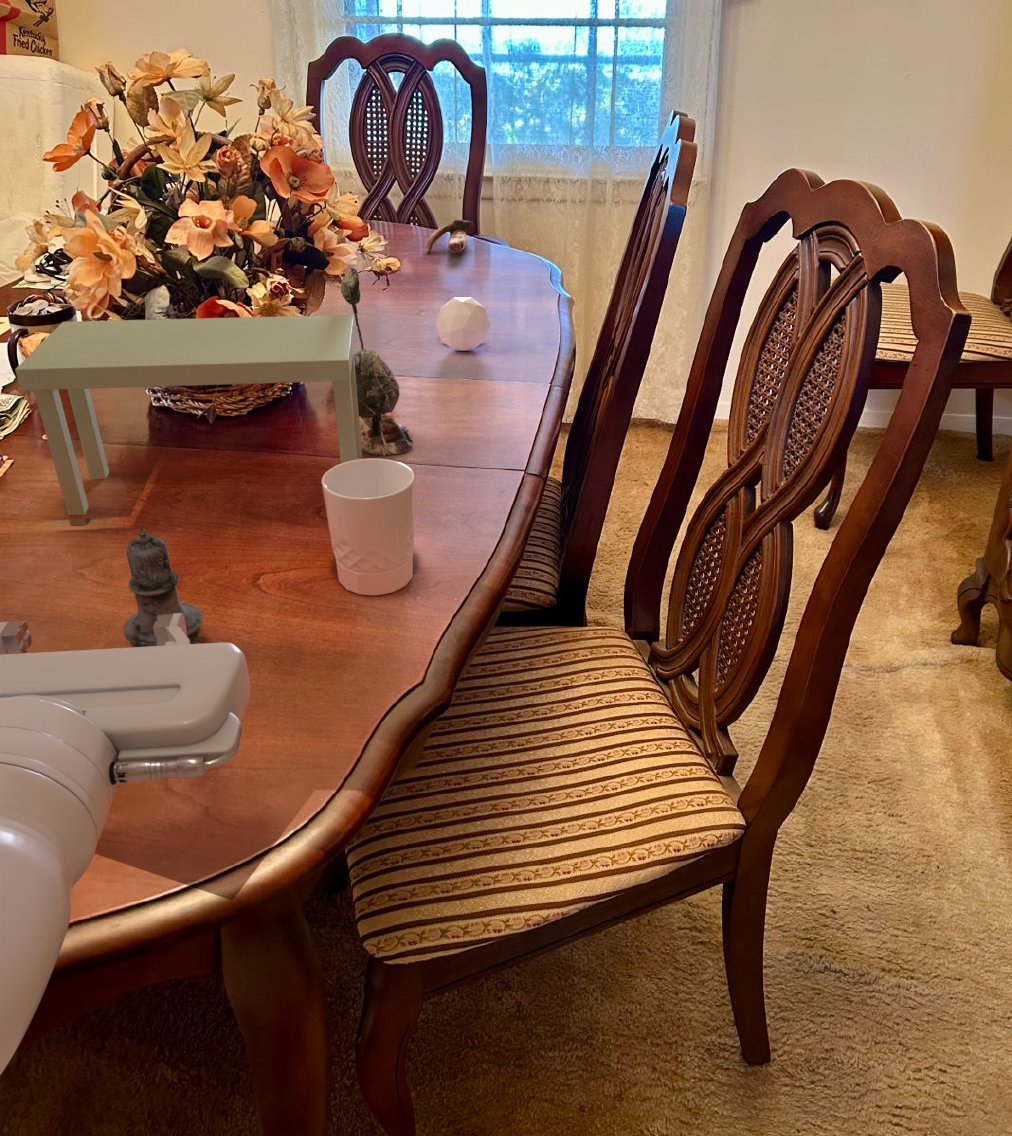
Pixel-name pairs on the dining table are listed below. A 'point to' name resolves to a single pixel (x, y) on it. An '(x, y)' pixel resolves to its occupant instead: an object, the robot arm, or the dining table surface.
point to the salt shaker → (154, 592)
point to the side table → (181, 373)
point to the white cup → (371, 524)
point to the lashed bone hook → (452, 235)
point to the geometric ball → (462, 323)
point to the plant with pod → (375, 391)
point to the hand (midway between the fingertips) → (95, 626)
